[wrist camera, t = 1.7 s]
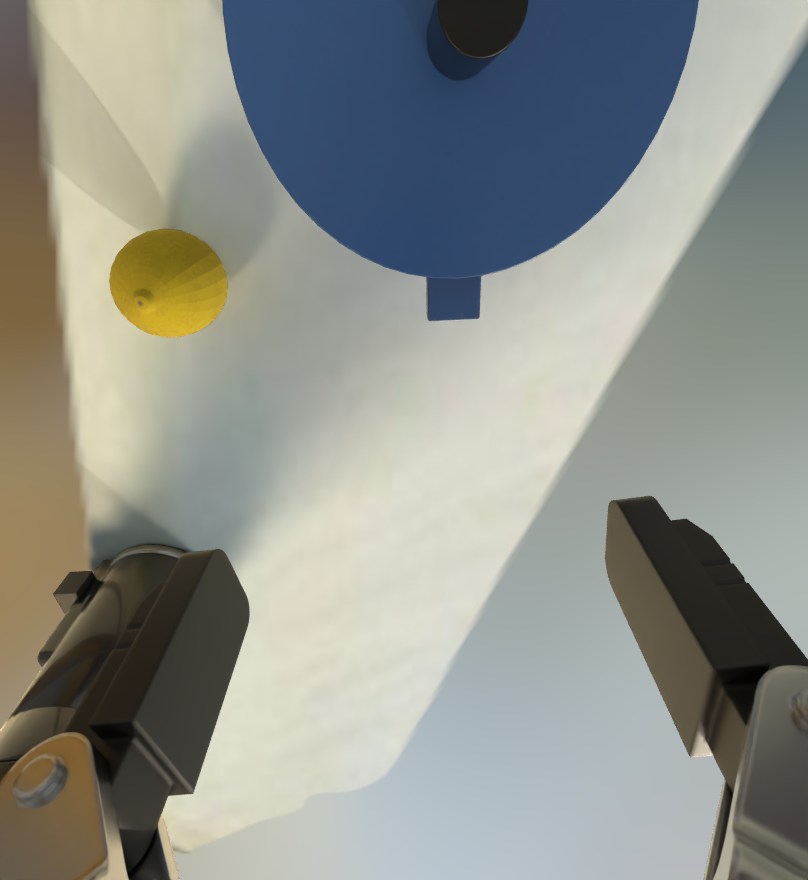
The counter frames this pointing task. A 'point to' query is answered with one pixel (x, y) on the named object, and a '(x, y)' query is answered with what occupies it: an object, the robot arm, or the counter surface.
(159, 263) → the lemon
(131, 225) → the counter surface
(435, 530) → the counter surface
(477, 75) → the lid
